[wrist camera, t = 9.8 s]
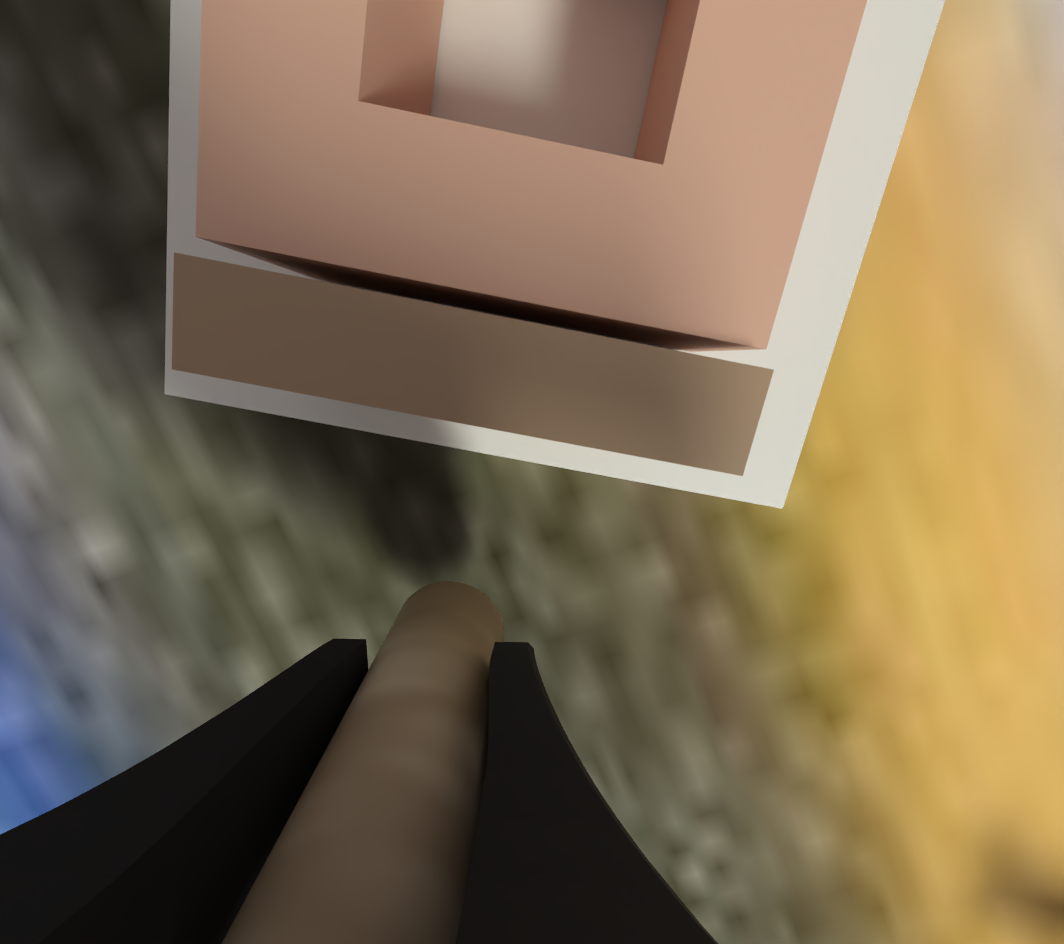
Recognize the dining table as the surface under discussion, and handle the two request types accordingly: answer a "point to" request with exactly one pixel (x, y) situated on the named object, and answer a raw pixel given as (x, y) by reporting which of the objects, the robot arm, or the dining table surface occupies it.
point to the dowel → (390, 792)
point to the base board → (527, 346)
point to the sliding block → (523, 167)
